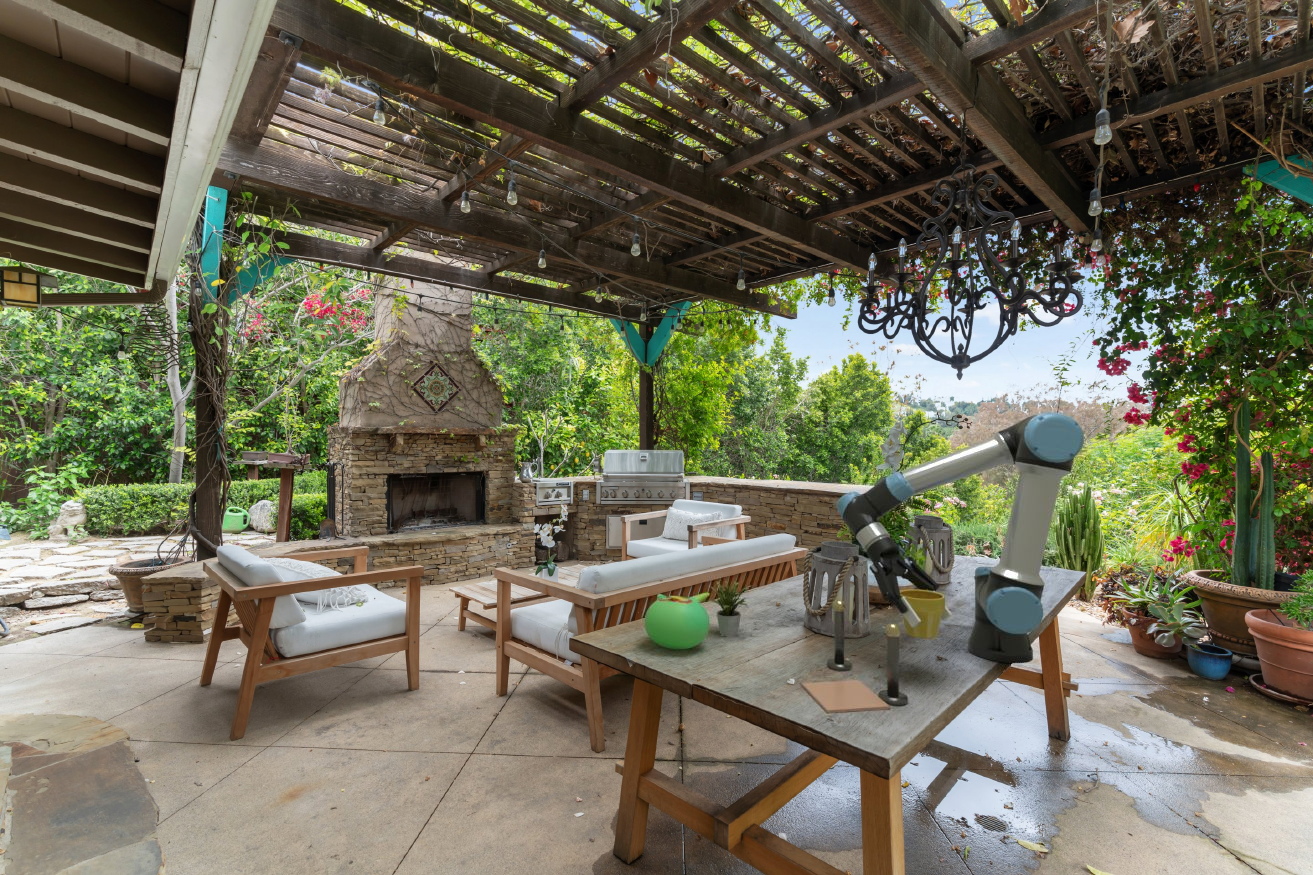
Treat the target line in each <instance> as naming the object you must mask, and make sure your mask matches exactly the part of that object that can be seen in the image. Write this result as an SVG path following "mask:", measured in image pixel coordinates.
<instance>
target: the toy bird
mask: <svg viewBox="0 0 1313 875" xmlns="http://www.w3.org/2000/svg"><path fill="white" fill-rule="evenodd" d="M656 595H657V596H656V597H657V599H656V600H655V601H653V602H652V604H651V605H650V606H648V609H647V610H646V612H645V615H644V627H645V631H646V632H645V633H646V634H647V636H648V637H649V638H650V639H651V641H653V643H655V644H656V645H658V646H661V647H662V648H666V649H669V648H670V650H687V649H691V648H695V647H696V646H698V645H700V644H701V643H702V642H703V641H704V640H705V638H706V637H707V635H708V633H709V631H710V630H709V629H710V618H709V617H710V616H709V614H708V612H707V610H706V608H705V607H704V606H703V605H702V604H701V603H702V602H703V601H704V600H706V599H707V598H708V597H709V596H710V595H711V594H710V593H709V592H702V593H700V594H696V595H693V596H684V595H683V596H681V595H669V596H667V595H664V594H662V593H658V594H656Z"/></svg>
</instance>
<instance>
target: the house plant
mask: <svg viewBox="0 0 1313 875" xmlns="http://www.w3.org/2000/svg"><path fill="white" fill-rule="evenodd" d="M724 580H725V586H724V585H722V584H720V582H719V581H717V580H716V584H717V586H718V587H717V588H718V591H719V592H718V591H717V590H716V589H715V588H714V587H713V586H710V588H711V589H712V590H713V591H714V593H715V594H716V595H717V597H718V599H717V600H716V599H711V598H710V599H708V600H707V602H712V603H715V604H717V605H718V606H720V607H721V610H717V612H716V617H717V618H716V619H717V624H718V629H719V635H720V634H721V635H723V636H722V637H724V636H735V637H737V636H738V635H737V634H738V632H739V628H740V621H741V614H742V613H741V612H740V611H737V610H738V609H739V608H740V607H742V605H743V606H746V607H747V608H749V606H748V604H747V601H746V599H749V598H750V596H749V597H743V598H740V597H741V596H742V595H743V593H748V592H750V591H749V587H753V586H754V585H749V586H748V585H747V586H745V587H743V588H742V589H741V590H740V591H738V592H737V590H738V586H739V583H740V581H737V579H735V580H734V581H733V584H732V586H731V588H730V586H729V584H728V581H727V579H726V578H725V579H724ZM747 590H748V591H747ZM736 635H737V636H736Z"/></svg>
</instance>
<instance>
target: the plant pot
mask: <svg viewBox="0 0 1313 875" xmlns="http://www.w3.org/2000/svg"><path fill="white" fill-rule="evenodd" d="M899 591H900V596H901V597H905V599H906V600H907V602H908V603H909V604H910V606H911V607H912V609H913V610H914V611H915V613H916V614H917V616H918V617H919V619H920V620H921V622H919V623H918V624H917V625H916V626H915V627H911V625H910V624H909V622H908V621H907V620H906V618H905V617H904V615H903V614H902V613H901V614H902V619H903V623H904V627H905V631H906V633H907V635H908V636H910V637H913V638H917V639H923V640H924V639H925V640H932V639H936V638H937V637H938V633H939V628H940V624H941V620H942V619H941V615H942V612H943V611H944V610H945V605H946V595H945V594H943V593H940V592H938V591H936V592H933V591H928V589H927V590H920V589H912V588H911V589H901V590H899ZM901 597H900V598H901Z"/></svg>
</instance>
